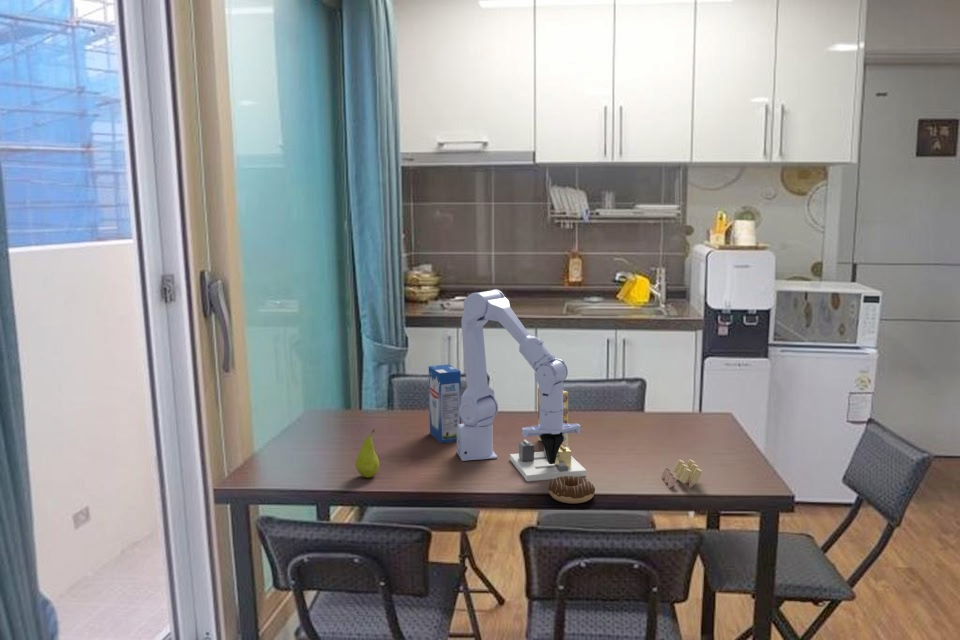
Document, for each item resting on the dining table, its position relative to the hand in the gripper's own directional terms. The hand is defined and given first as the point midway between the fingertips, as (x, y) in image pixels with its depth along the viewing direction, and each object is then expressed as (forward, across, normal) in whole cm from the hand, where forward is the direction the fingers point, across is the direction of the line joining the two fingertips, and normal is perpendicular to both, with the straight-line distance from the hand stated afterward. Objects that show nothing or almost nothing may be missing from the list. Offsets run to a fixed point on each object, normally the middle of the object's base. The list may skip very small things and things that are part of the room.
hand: (551, 462), depth 188 cm
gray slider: (+1, -4, +6) cm, 8 cm away
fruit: (+3, -44, +8) cm, 45 cm away
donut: (+3, 0, -16) cm, 16 cm away
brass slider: (+1, +3, 0) cm, 3 cm away
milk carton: (+3, -21, +35) cm, 41 cm away
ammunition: (+3, +28, -14) cm, 31 cm away
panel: (+2, 0, +4) cm, 4 cm away
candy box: (+3, +8, +22) cm, 23 cm away
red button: (0, +4, +7) cm, 9 cm away
